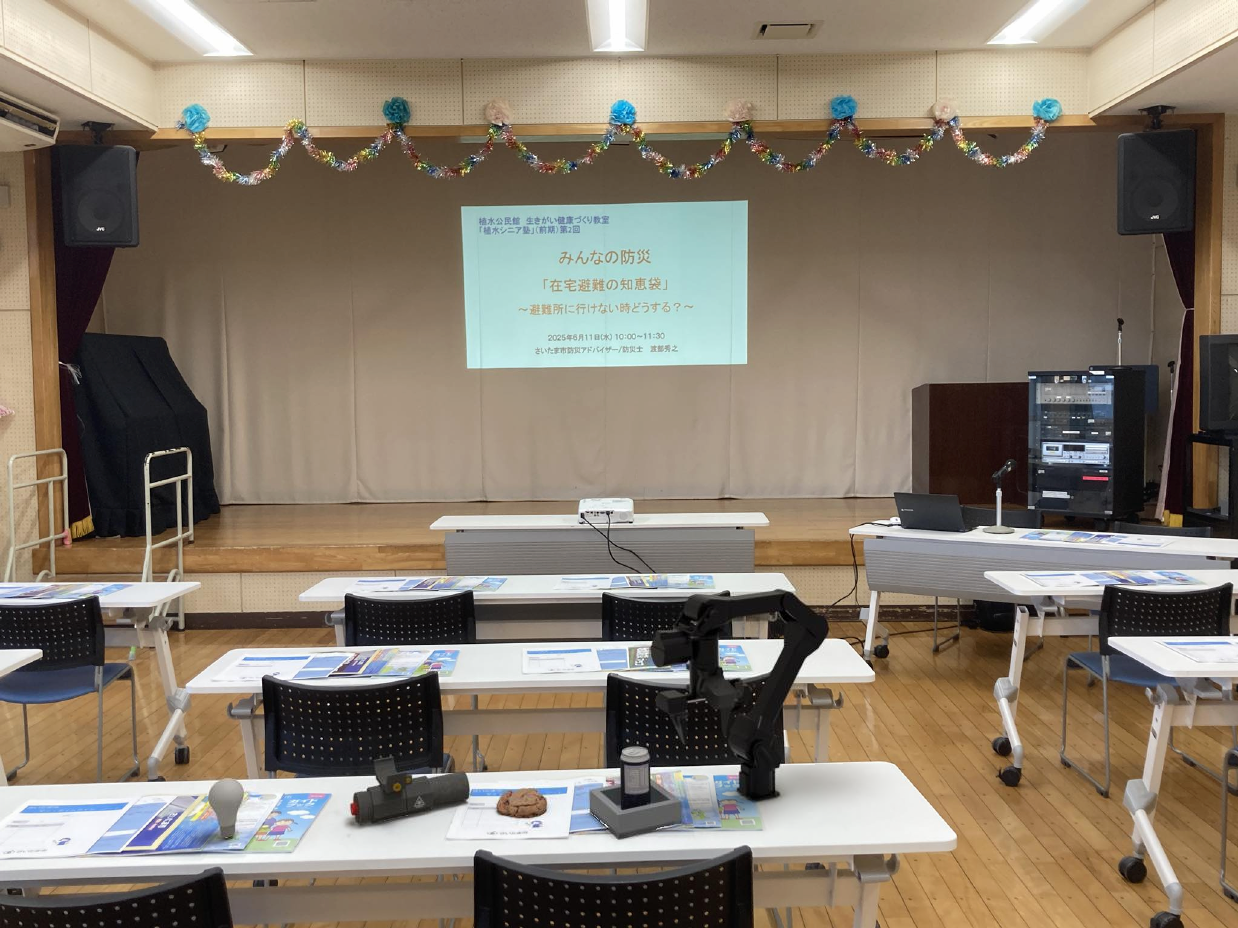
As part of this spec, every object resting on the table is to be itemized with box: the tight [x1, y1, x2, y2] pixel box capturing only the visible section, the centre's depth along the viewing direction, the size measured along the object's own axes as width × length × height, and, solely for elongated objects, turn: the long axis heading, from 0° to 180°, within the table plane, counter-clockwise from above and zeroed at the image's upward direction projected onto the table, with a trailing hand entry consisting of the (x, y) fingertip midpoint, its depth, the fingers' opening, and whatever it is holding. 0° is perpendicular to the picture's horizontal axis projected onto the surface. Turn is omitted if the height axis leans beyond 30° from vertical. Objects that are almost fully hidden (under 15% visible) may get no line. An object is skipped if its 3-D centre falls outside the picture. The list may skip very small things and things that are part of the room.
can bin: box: [589, 777, 683, 840], centre depth 183 cm, size 13×13×4 cm
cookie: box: [495, 787, 548, 819], centre depth 189 cm, size 10×11×3 cm
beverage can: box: [619, 746, 651, 810], centre depth 182 cm, size 6×6×12 cm
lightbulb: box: [207, 777, 245, 838], centre depth 178 cm, size 6×6×11 cm
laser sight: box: [349, 756, 471, 825], centre depth 188 cm, size 10×22×10 cm, turn 119°
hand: (705, 739), depth 187 cm, fingers open, 9 cm apart
